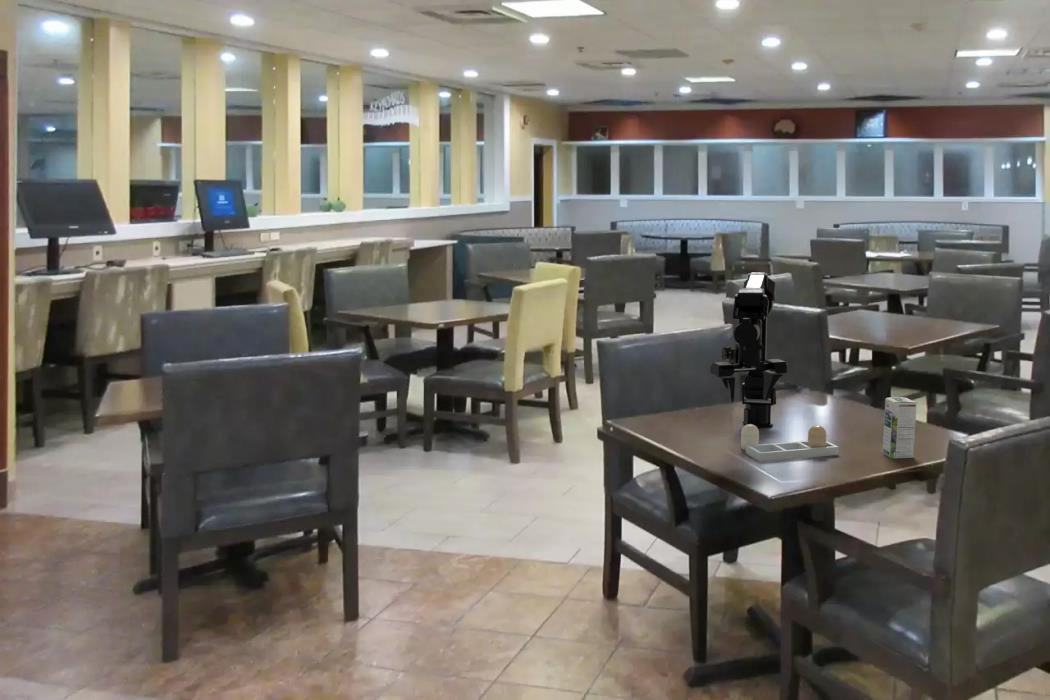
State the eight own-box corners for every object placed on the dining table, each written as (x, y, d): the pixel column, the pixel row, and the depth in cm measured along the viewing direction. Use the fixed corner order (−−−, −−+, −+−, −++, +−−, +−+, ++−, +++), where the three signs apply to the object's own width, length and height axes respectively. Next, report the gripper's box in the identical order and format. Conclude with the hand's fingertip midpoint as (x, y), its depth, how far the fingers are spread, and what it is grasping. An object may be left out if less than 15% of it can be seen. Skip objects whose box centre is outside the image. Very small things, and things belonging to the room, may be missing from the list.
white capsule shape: (753, 447, 267) (754, 421, 266) (761, 451, 263) (762, 425, 262) (737, 448, 266) (738, 423, 265) (745, 453, 262) (746, 426, 261)
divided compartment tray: (822, 448, 264) (822, 439, 264) (838, 456, 257) (838, 446, 257) (745, 455, 260) (746, 445, 259) (759, 463, 252) (759, 453, 252)
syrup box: (881, 454, 259) (883, 397, 256) (904, 453, 259) (907, 396, 257) (891, 460, 253) (893, 402, 251) (914, 459, 254) (917, 401, 251)
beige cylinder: (820, 449, 262) (821, 422, 261) (829, 453, 258) (830, 426, 257) (804, 450, 261) (805, 424, 260) (813, 454, 257) (814, 428, 256)
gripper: (769, 334, 270) (767, 393, 272) (702, 337, 266) (701, 397, 268) (789, 340, 259) (788, 401, 262) (720, 343, 255) (719, 406, 257)
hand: (748, 401), depth 262 cm, fingers open, 9 cm apart
